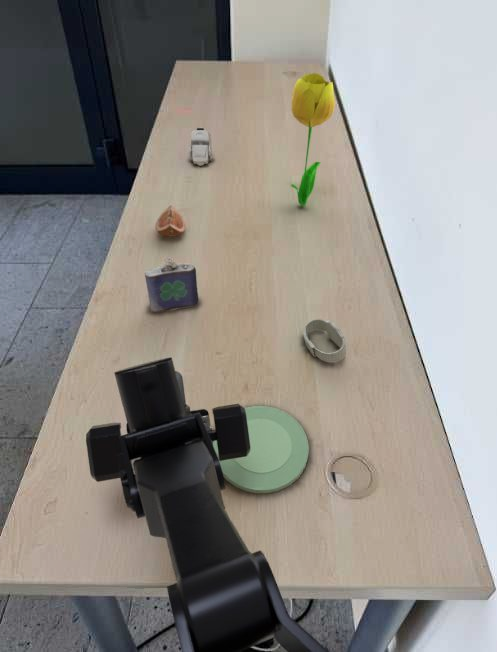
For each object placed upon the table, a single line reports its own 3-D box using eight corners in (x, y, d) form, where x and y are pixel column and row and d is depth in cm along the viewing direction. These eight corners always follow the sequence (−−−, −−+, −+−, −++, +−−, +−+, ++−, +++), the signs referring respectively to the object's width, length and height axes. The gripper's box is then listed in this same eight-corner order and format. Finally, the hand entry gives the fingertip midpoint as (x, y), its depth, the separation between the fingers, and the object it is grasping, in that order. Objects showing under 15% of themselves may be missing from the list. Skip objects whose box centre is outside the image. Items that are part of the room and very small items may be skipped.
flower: (292, 218, 116) (304, 86, 95) (279, 202, 121) (288, 72, 100) (325, 212, 118) (343, 81, 97) (311, 196, 123) (325, 68, 102)
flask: (151, 314, 92) (143, 269, 84) (149, 304, 94) (142, 259, 86) (199, 306, 93) (196, 261, 86) (196, 296, 95) (193, 252, 88)
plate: (309, 497, 66) (310, 493, 66) (207, 490, 67) (207, 486, 66) (307, 412, 76) (307, 408, 75) (218, 406, 77) (218, 402, 76)
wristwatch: (352, 359, 84) (357, 339, 81) (322, 371, 82) (325, 352, 79) (322, 326, 90) (326, 306, 86) (293, 337, 88) (296, 317, 84)
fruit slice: (185, 244, 108) (183, 224, 104) (155, 245, 108) (152, 225, 104) (186, 223, 114) (184, 204, 110) (157, 224, 113) (154, 205, 110)
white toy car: (211, 168, 137) (211, 132, 136) (210, 162, 130) (210, 124, 130) (190, 168, 137) (190, 132, 136) (188, 162, 130) (188, 124, 130)
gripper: (246, 367, 52) (230, 359, 68) (66, 393, 49) (93, 379, 65) (260, 470, 52) (241, 439, 68) (81, 502, 49) (104, 461, 65)
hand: (171, 427), depth 66 cm, fingers open, 3 cm apart
